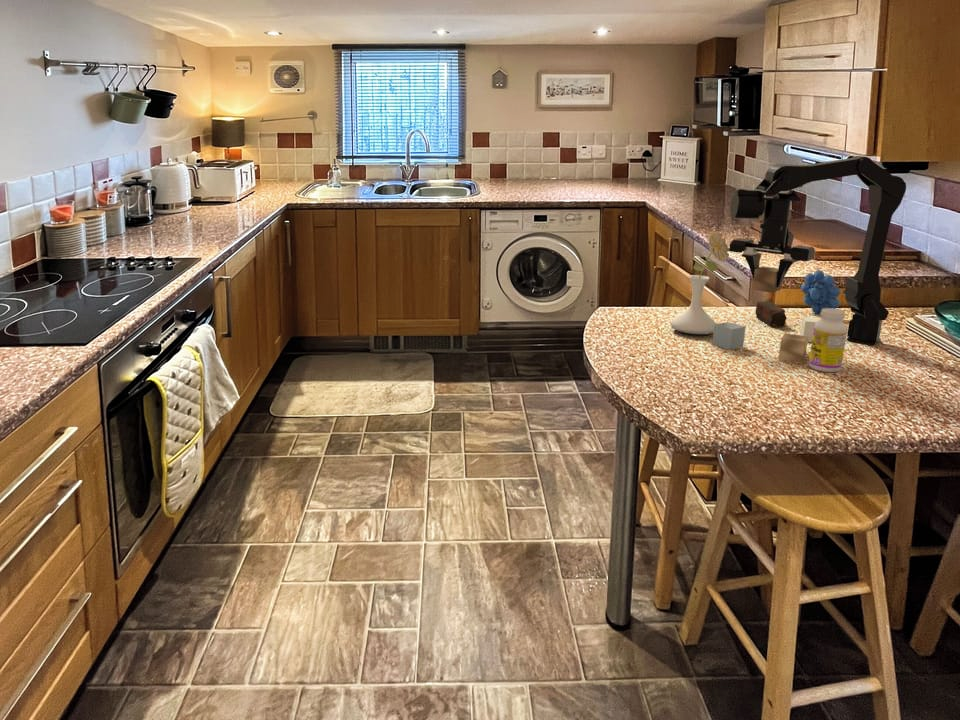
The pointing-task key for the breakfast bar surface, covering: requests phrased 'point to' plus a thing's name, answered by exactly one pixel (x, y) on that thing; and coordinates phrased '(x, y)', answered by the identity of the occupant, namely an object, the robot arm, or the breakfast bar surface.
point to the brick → (770, 314)
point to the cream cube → (808, 327)
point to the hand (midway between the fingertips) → (766, 285)
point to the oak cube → (793, 348)
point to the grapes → (820, 291)
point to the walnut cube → (766, 279)
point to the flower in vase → (695, 316)
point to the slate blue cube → (728, 335)
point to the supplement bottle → (828, 341)
